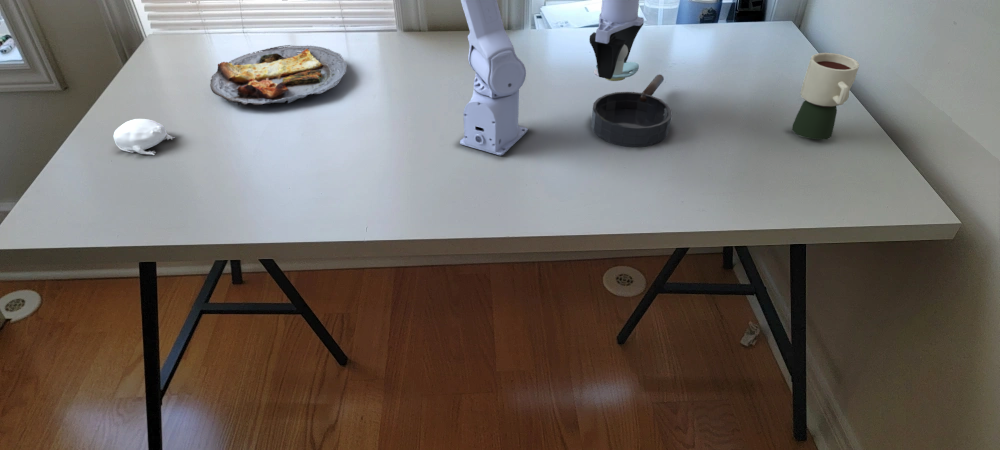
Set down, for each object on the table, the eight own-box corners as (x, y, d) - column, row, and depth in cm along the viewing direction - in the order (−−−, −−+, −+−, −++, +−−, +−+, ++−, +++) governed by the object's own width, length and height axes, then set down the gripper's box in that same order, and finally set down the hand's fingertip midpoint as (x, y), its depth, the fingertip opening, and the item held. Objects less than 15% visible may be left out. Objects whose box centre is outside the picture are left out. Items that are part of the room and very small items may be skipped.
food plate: (218, 122, 112) (213, 103, 110) (207, 70, 129) (202, 53, 127) (360, 95, 120) (358, 77, 118) (332, 49, 137) (330, 33, 135)
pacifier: (587, 72, 113) (600, 85, 108) (590, 36, 109) (603, 49, 104) (626, 68, 114) (640, 81, 109) (630, 32, 111) (645, 44, 106)
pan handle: (646, 104, 114) (647, 96, 113) (637, 102, 114) (638, 94, 113) (664, 82, 121) (665, 74, 120) (655, 80, 121) (657, 72, 120)
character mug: (846, 150, 105) (875, 75, 97) (803, 151, 105) (828, 76, 97) (816, 118, 114) (840, 47, 106) (777, 119, 114) (797, 48, 106)
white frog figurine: (179, 136, 108) (172, 116, 106) (154, 157, 103) (146, 136, 101) (137, 131, 110) (129, 111, 107) (110, 151, 104) (101, 131, 102)
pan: (654, 154, 104) (657, 135, 102) (579, 135, 109) (580, 116, 107) (677, 120, 113) (681, 102, 111) (607, 103, 118) (609, 85, 116)
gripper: (631, 6, 95) (620, 91, 103) (660, -21, 105) (648, 58, 113) (586, -2, 98) (579, 82, 106) (619, -28, 108) (610, 51, 116)
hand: (612, 69), depth 110 cm, fingers closed on pacifier, 6 cm apart
